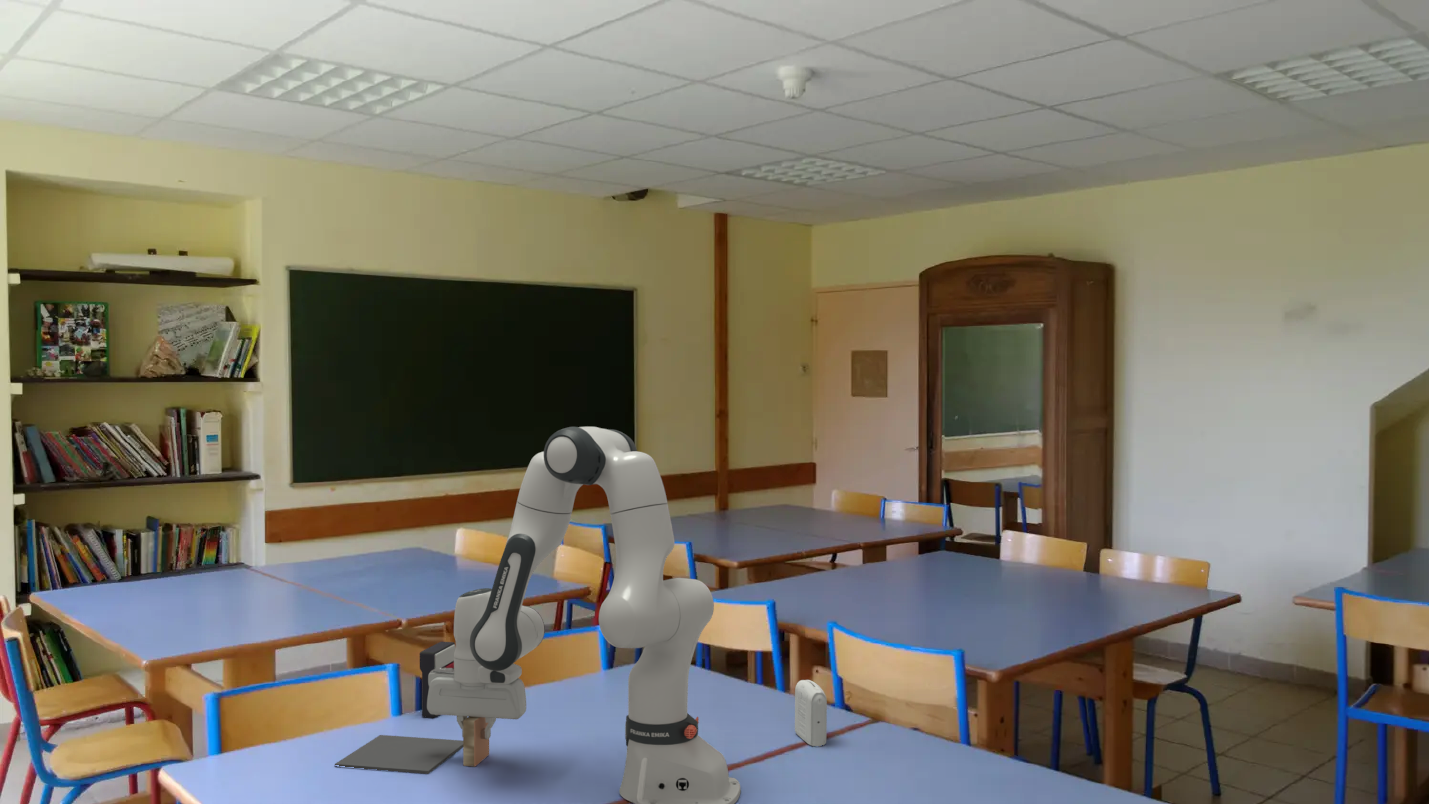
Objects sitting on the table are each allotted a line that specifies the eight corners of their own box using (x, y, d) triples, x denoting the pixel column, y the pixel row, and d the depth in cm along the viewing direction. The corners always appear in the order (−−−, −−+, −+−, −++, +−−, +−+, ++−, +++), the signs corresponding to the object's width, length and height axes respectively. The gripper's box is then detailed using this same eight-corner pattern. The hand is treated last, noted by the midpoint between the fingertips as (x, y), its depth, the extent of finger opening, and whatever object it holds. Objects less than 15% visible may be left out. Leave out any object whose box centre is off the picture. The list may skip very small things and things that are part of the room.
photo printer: (829, 746, 221) (829, 687, 221) (810, 748, 220) (810, 689, 220) (810, 730, 231) (810, 674, 231) (792, 732, 230) (792, 676, 229)
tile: (489, 754, 215) (489, 710, 215) (475, 766, 208) (475, 721, 208) (477, 753, 216) (477, 710, 216) (463, 765, 209) (463, 720, 209)
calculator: (436, 718, 239) (436, 653, 239) (419, 717, 240) (419, 652, 240) (458, 704, 250) (458, 641, 249) (441, 703, 250) (441, 641, 250)
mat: (467, 743, 222) (467, 740, 222) (428, 774, 204) (428, 771, 204) (380, 737, 226) (380, 734, 226) (334, 766, 208) (334, 763, 208)
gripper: (421, 670, 211) (421, 739, 211) (517, 676, 207) (517, 745, 207) (435, 662, 217) (435, 729, 217) (529, 667, 213) (529, 735, 213)
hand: (476, 737), depth 212 cm, fingers closed on tile, 2 cm apart
